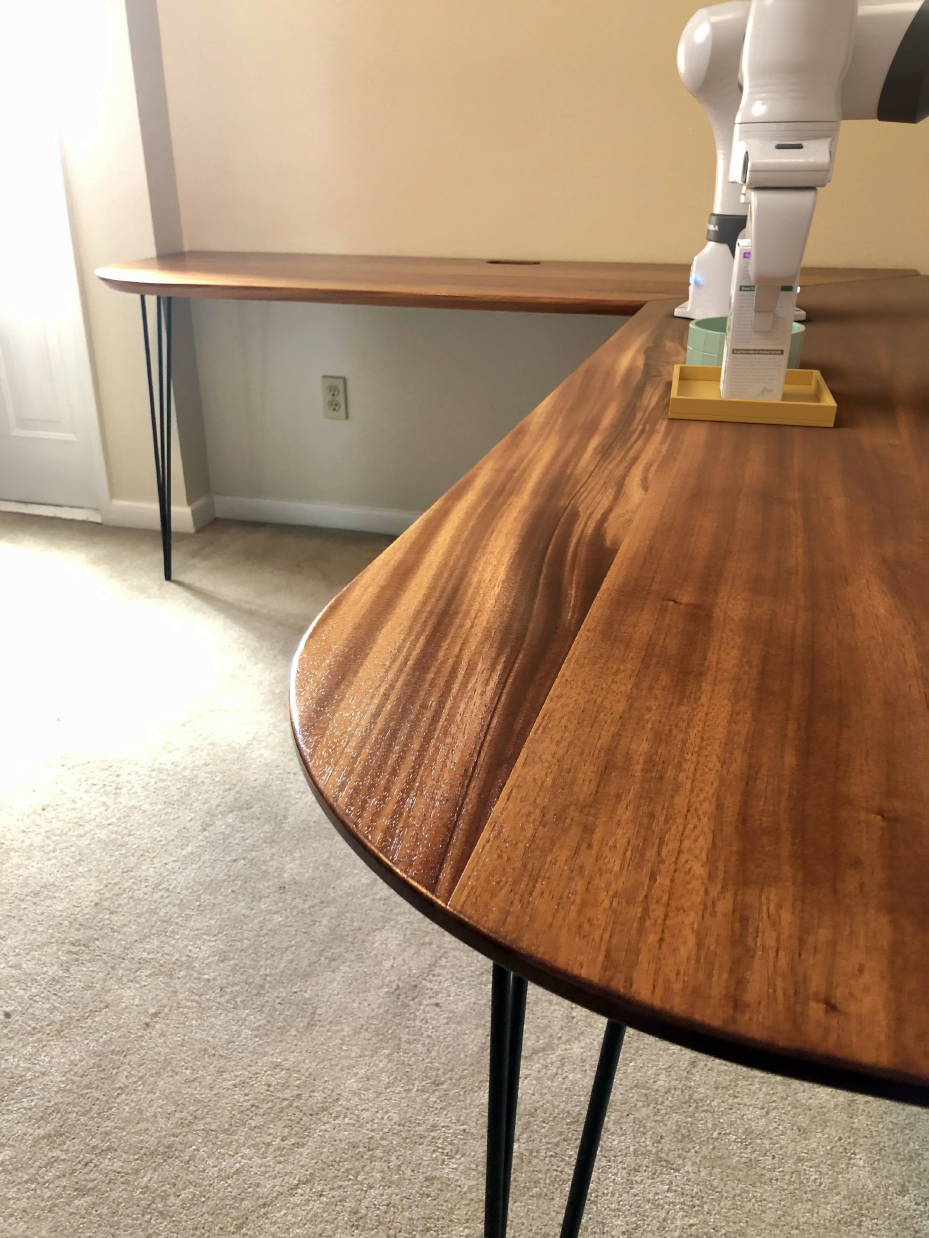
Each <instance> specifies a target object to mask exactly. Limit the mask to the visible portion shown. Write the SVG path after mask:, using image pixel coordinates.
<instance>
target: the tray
mask: <svg viewBox="0 0 929 1238" xmlns="http://www.w3.org/2000/svg"><path fill="white" fill-rule="evenodd" d="M721 371H722V366H707V365H685V364H682V363H681V364H679V363H674V367H673V375H672V385H671V391H670V398H669V399H670V400H669V409H668V418H667V419H677V420H693V421H695V420H696V421H709V422H710V421H711V422H712V421H713V422H730V423H745V424H747V423H748V424H749V423H750V424H764V425H765V424H766V425H767V424H768V425H784V426H803V427H820V428H821V427H822V428H823V427H824V428H834V424H835V420H836V414H837V409H838V404H837V402H836V400H835V399H834V397H833V395H832V393H831V391H830V389H829V387H828V385H827V383H826V381H825V380H824V378H823V376H822V374H821V371H820V370H819V369H800V368H799V369H786V375H785V381H784V387H783V394H782V400H781V401H765V400H745V399H725V398H721V393H720V380H721Z"/></svg>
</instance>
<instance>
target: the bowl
mask: <svg viewBox="0 0 929 1238" xmlns="http://www.w3.org/2000/svg"><path fill="white" fill-rule="evenodd" d="M727 319H728V316H715V317H705V318H700V319H693V320H691V321H689V327H688V335H687V336H688V337H687V345H686V353H685V364H684V365H707V366H722V362H723V353H724V345H725V336H726V327H727ZM806 330H807V328H806V326H805V325H804V324H801V323H799V322H796V321H793V327H792V335H791V342H790V349H789V355H788V362H787V369H800V365H801V360H802V355H803V347H804V342H805V337H806Z"/></svg>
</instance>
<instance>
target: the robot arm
mask: <svg viewBox="0 0 929 1238" xmlns="http://www.w3.org/2000/svg"><path fill="white" fill-rule="evenodd" d="M676 50H677V51H676V66H677V72H678V76H679V79H680V81H681V83H682V85H683V87H684V88H685V90H686V92H688V93H689V94H690V95H691V96H692V97H693V98H694V99H695V101H697V102H698V104H699V105H700V108H702V110H703V111H704V113H705V115H706V118H707V120H708V122H709V125H710V127H711V131H712V133H713V134H712V135H713V138H714V143H715V144H714V145H715V152H716V164H715V185H714V195H713V196H714V197H713V206H712V212H711V213H709V214H708V215H709V216H708V222H707V224H706V241H707V243H706V245H705V246H704V248H703V249H702V250H700V252H698V253H697V255H695V256H694V257H693V263H691V266H690V272H689V284H690V285H689V287H688V290H687V293H688V295H689V296H688V300H687V301H685V302H683V303H681V304H680V305H678V306H677V307H675V309H674V313H673V316H675V317H680V318H689V319H693V320H695V319H700V318H705V317H715V316H728V311H729V301H730V292H731V283H732V275H733V267H734V259H735V251H736V243H737V240H738V239H749V241H750V243H751V251H750V257H749V264H748V272H749V275H750V278H751V281H752V283H753V284H755V297H754V309H753V314H752V322H751V326H752V330H754V331H755V332H768V331H770V330H771V329H772V325H773V318H774V312H775V309H776V305H777V302H778V299H779V295H780V290H781V286H790V285H793V284H794V282H795V280H796V278H797V276H798V273H799V270H800V271H801V269H800V267H801V268H802V263H803V260H804V256H805V252H806V248H807V244H808V239H809V237H810V232H811V227H812V224H813V218H814V215H815V211H816V207H817V202H818V194H819V190H818V188H825V187H826V186H827V185H828V184H829V183H831V182H832V180H833V173H834V167H835V161H836V155H837V151H838V150H837V149H838V144H839V137H840V131H841V126H842V121H868V120H869V121H874V120H875V121H876V120H877V121H878V122H886V123H897V124H898V123H899V124H909V125H911V124H912V125H918V124H919V123H921V122H922V121H924V120H925V119H927V118H929V0H731V1H726V2H722V3H721V2H720V3H716V4H712V5H708V6H705V7H702V8H700V9H697V11H695V12H694V14H693V15H692V16H691V17H690V18H689V20H688V21H687V22H686V24H685V26H684V28H683V29H682V32H681V34H680V37H679V41H678V45H677V49H676ZM800 289H801V287H800V286H798V291H797V293H800ZM806 315H807V312H806V311H804V310H802V309H801V308H799V307H797V306H795V313H794V320H793V322H796V321H805V320H806V319H807V316H806Z"/></svg>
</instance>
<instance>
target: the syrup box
mask: <svg viewBox="0 0 929 1238" xmlns="http://www.w3.org/2000/svg"><path fill="white" fill-rule="evenodd" d="M750 251H751V243H750V241H749V239H738V240H737V243H736V251H735V259H734V267H733V275H732V283H731V292H730V301H729V311H728V319H727V327H726V336H725V345H724V353H723V362H722V371H721V380H720V393H721V398H725V399H745V400H765V401H781V400H782V394H783V387H784V381H785V375H786V369H787V362H788V355H789V349H790V342H791V335H792V327H793V322H794V321H793V320H794V313H795V307H796V304H797V297H798V292H797V291H798V287H799V282H800V276H801V269H802V266H801V267H800V270H799V273H798V276H797V278H796V280H795V282H794V284H793V285H790V286H781V290H780V295H779V299H778V302H777V305H776V309H775V312H774V318H773V325H772V329H771V330H770V331H768V332H755V331H754V330H752V326H751V322H752V314H753V309H754V297H755V284H753V283H752V281H751V278H750V275H749V272H748V264H749V257H750Z"/></svg>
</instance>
